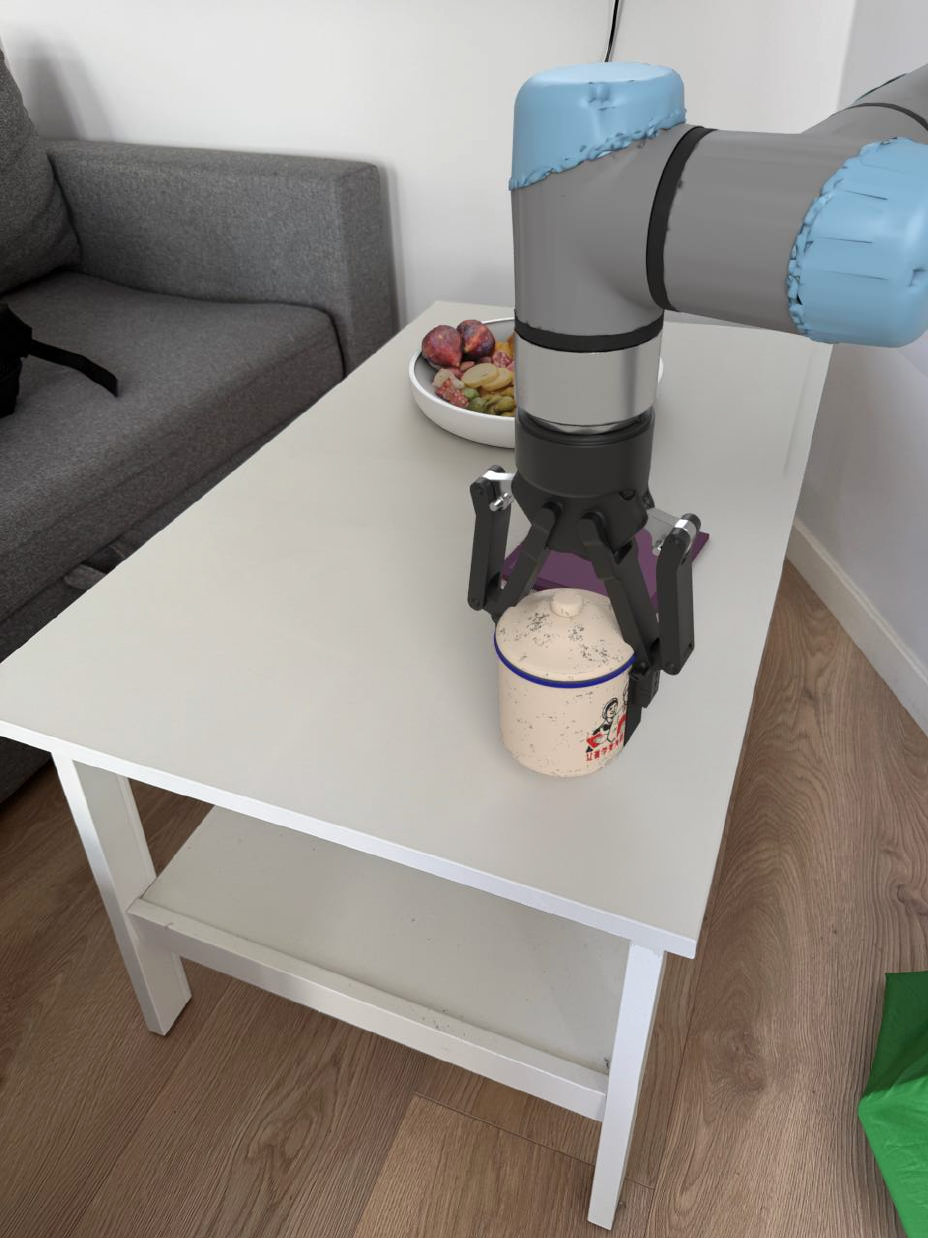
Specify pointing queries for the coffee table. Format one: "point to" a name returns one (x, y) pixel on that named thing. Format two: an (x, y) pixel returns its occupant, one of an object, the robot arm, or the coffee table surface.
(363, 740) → the coffee table surface
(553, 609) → the teacup with lid
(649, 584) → the place mat
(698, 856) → the coffee table surface
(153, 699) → the coffee table surface
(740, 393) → the coffee table surface
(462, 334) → the bowl
